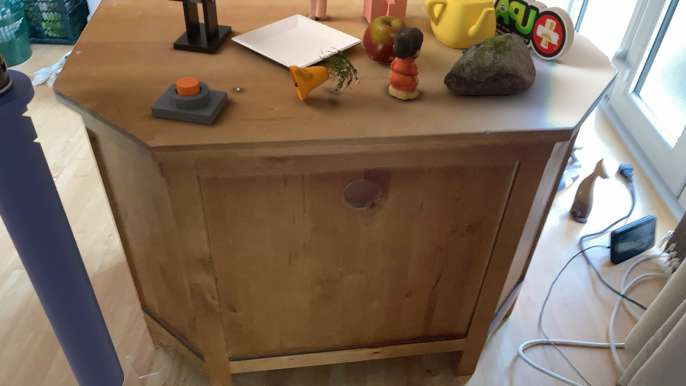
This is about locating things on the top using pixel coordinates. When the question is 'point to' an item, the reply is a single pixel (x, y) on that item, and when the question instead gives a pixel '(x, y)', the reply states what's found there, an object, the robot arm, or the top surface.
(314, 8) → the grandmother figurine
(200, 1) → the switch lever
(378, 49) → the fruit
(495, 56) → the stone
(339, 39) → the plate
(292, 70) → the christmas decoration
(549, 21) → the sign
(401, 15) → the pink blocky piece
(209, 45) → the switch bracket
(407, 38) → the figurine
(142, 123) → the top surface
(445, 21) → the teapot
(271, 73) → the top surface
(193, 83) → the button
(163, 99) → the control block
